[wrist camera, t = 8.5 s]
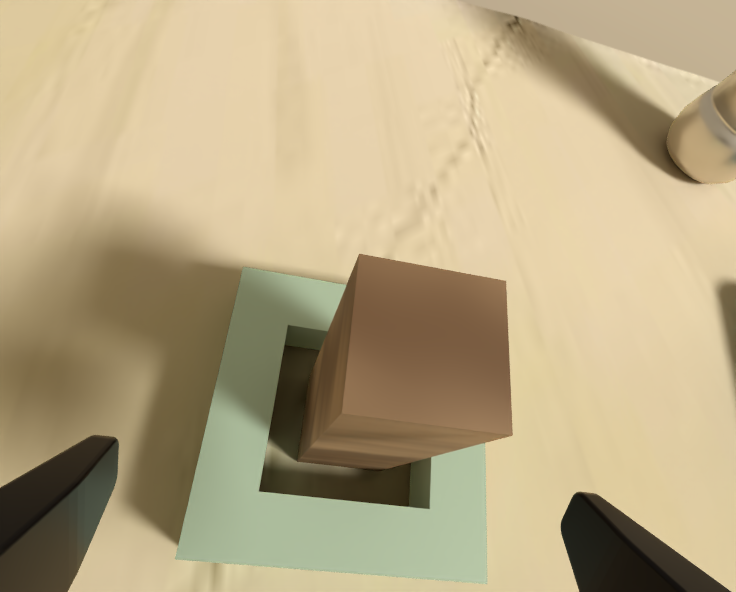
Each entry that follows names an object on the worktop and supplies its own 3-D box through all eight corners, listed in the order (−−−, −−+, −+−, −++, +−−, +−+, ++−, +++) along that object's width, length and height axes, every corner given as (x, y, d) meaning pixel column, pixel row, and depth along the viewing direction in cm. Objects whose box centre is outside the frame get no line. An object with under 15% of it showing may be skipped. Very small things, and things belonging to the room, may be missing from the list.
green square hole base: (458, 573, 21) (487, 584, 19) (186, 551, 19) (175, 559, 17) (460, 328, 26) (483, 308, 24) (244, 292, 24) (243, 266, 22)
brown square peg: (380, 470, 22) (512, 435, 11) (297, 461, 22) (342, 413, 10) (386, 388, 24) (505, 281, 12) (309, 377, 23) (359, 253, 12)
